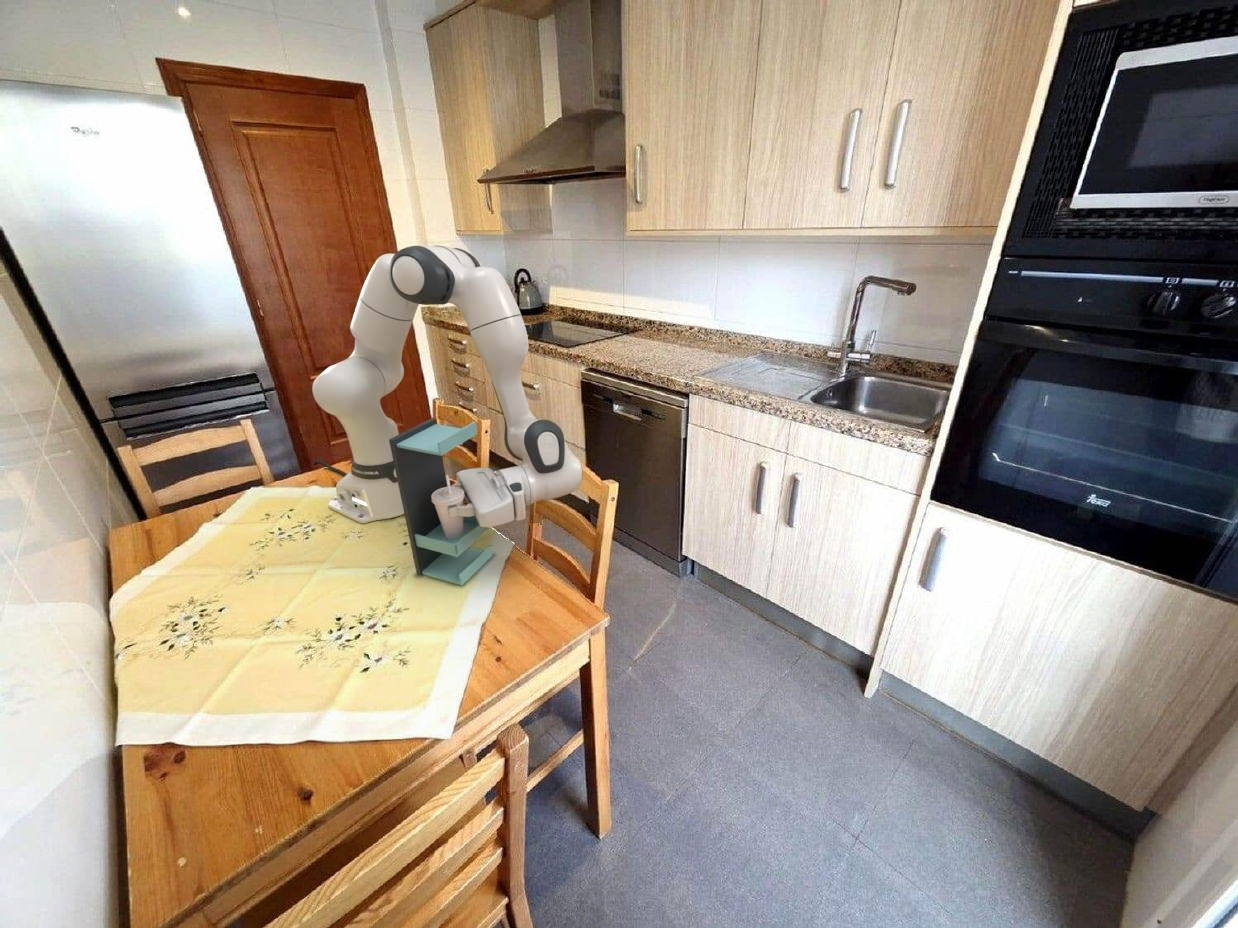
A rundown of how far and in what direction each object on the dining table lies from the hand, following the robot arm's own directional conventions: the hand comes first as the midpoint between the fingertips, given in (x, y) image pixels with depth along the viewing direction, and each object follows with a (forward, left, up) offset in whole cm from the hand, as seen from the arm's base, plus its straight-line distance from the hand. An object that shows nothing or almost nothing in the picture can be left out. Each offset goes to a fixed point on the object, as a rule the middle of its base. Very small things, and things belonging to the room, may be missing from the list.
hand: (444, 503), depth 101 cm
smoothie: (+1, +1, -8) cm, 8 cm away
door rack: (-1, +1, -16) cm, 16 cm away
